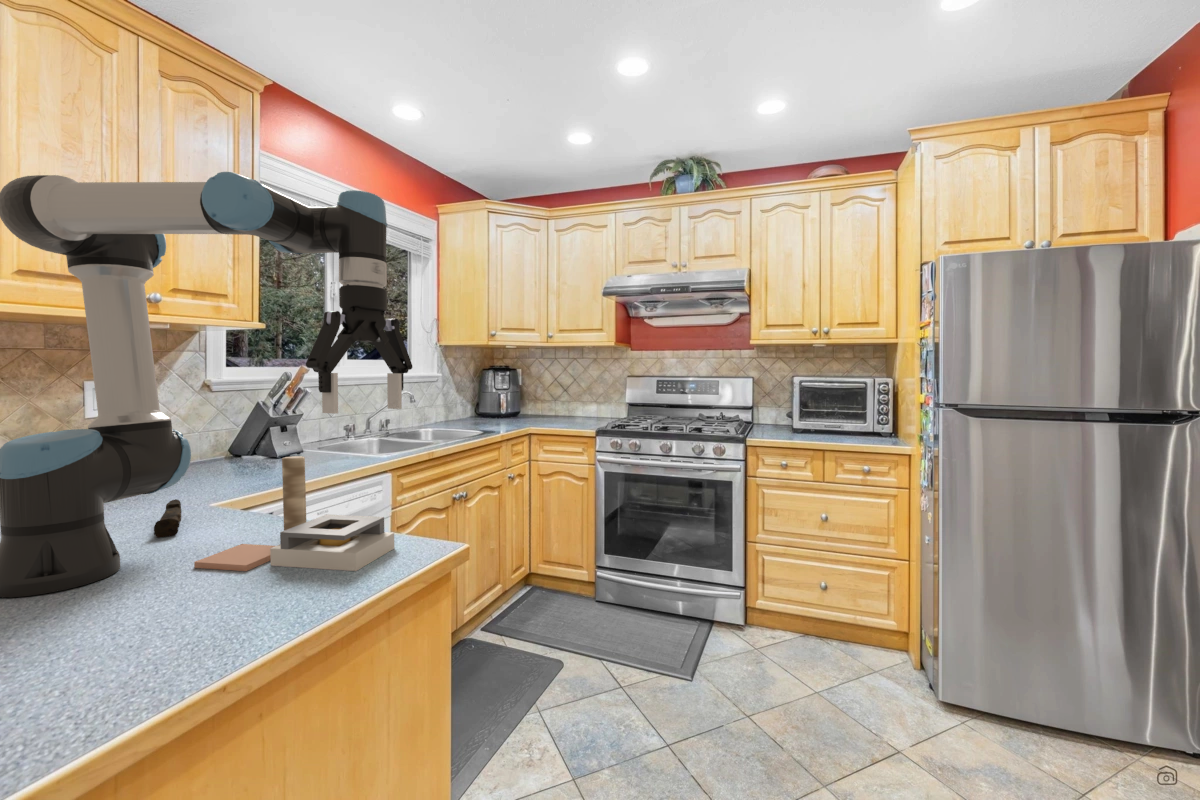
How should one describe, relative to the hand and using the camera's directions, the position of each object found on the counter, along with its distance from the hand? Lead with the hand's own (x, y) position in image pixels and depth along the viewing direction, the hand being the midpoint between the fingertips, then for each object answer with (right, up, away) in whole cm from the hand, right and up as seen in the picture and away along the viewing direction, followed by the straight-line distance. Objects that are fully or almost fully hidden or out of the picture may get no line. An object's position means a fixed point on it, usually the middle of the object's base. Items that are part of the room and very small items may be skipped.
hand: (364, 411), depth 94 cm
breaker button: (-7, -25, +4) cm, 26 cm away
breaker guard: (-7, -26, +4) cm, 27 cm away
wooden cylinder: (-21, -26, +16) cm, 37 cm away
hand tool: (-52, -26, +23) cm, 63 cm away
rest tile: (-22, -26, +2) cm, 35 cm away
